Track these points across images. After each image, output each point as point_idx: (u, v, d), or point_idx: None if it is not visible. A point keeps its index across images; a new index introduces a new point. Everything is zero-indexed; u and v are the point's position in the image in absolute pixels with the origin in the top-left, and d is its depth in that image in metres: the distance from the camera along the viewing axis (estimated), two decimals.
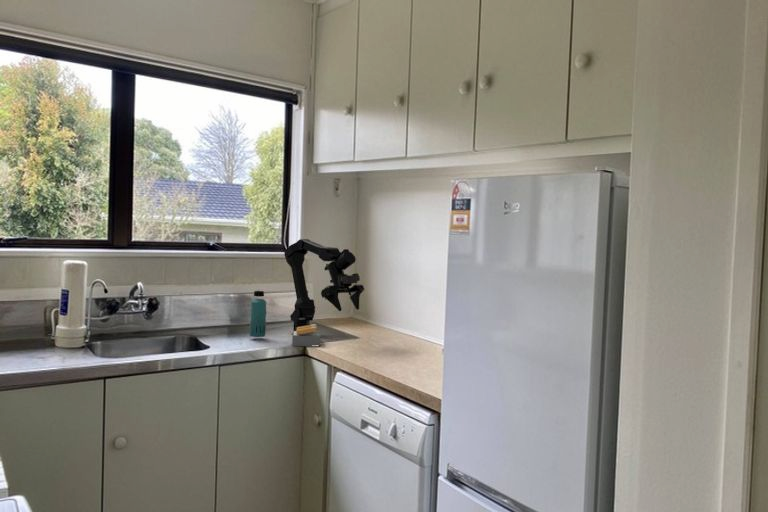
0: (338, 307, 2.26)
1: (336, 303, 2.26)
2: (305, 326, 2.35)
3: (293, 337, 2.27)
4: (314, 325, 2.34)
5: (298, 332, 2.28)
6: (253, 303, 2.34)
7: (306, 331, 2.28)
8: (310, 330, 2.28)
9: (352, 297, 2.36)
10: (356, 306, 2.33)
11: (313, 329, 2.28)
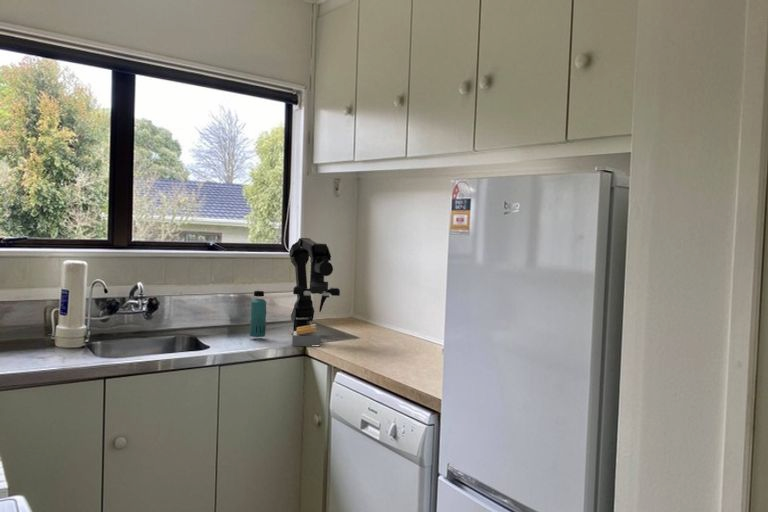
0: (310, 308, 2.35)
1: (309, 304, 2.35)
2: (305, 326, 2.35)
3: (293, 337, 2.27)
4: (314, 325, 2.34)
5: (298, 332, 2.28)
6: (253, 303, 2.34)
7: (306, 331, 2.28)
8: (310, 330, 2.28)
9: (321, 297, 2.37)
10: None
11: (313, 329, 2.28)
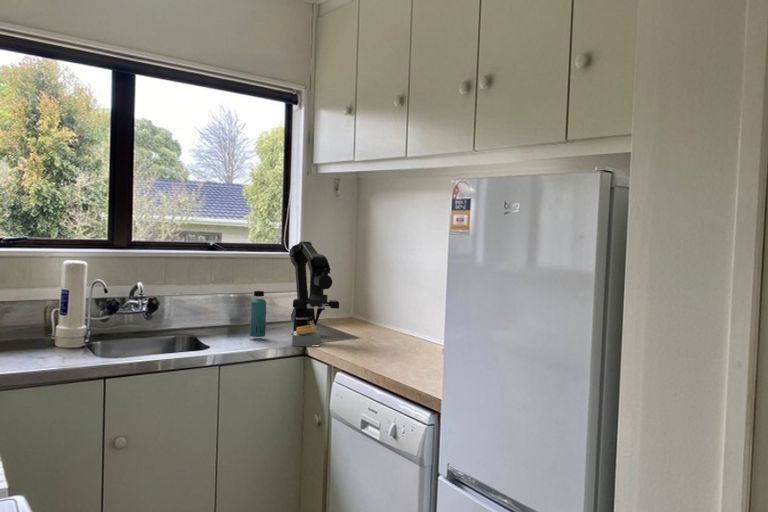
0: (313, 321, 2.36)
1: (312, 317, 2.35)
2: (305, 326, 2.35)
3: (293, 337, 2.27)
4: (314, 325, 2.34)
5: (298, 332, 2.28)
6: (253, 303, 2.34)
7: (306, 331, 2.28)
8: (310, 330, 2.28)
9: None
10: None
11: (313, 329, 2.28)
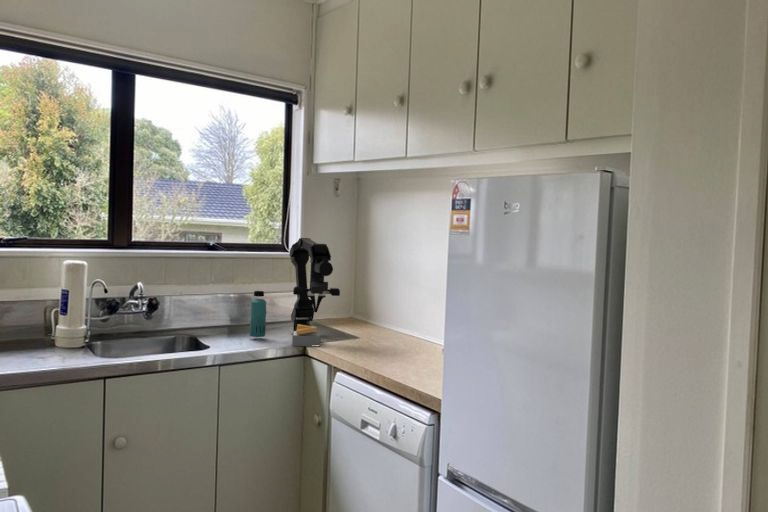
0: (313, 308, 2.35)
1: (312, 304, 2.35)
2: (306, 326, 2.35)
3: (293, 337, 2.27)
4: None
5: (298, 332, 2.28)
6: (253, 303, 2.34)
7: (306, 331, 2.28)
8: (310, 330, 2.28)
9: None
10: None
11: (313, 329, 2.28)
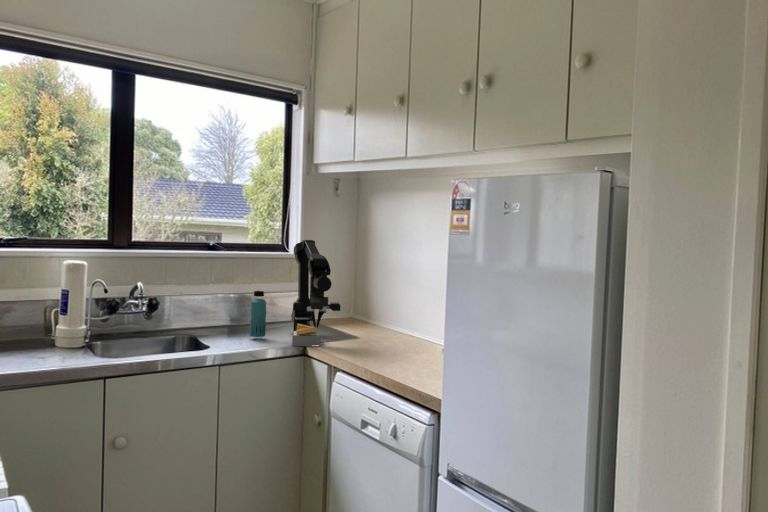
0: None
1: (312, 320, 2.30)
2: (306, 326, 2.35)
3: (293, 337, 2.27)
4: None
5: (298, 332, 2.28)
6: (253, 303, 2.34)
7: (306, 331, 2.28)
8: (310, 330, 2.28)
9: (318, 312, 2.31)
10: None
11: (313, 329, 2.28)
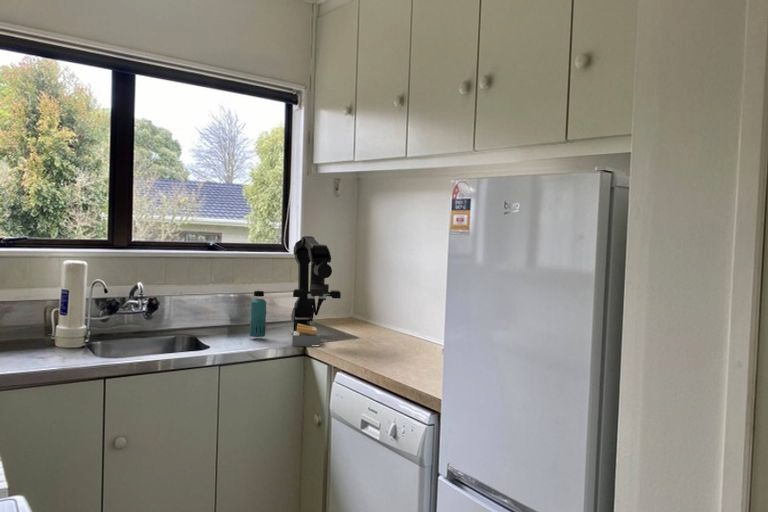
0: (314, 311, 2.30)
1: (313, 307, 2.29)
2: (306, 326, 2.35)
3: (293, 337, 2.27)
4: (315, 328, 2.34)
5: (298, 329, 2.28)
6: (253, 303, 2.34)
7: (306, 331, 2.28)
8: (310, 331, 2.28)
9: None
10: None
11: (313, 332, 2.29)
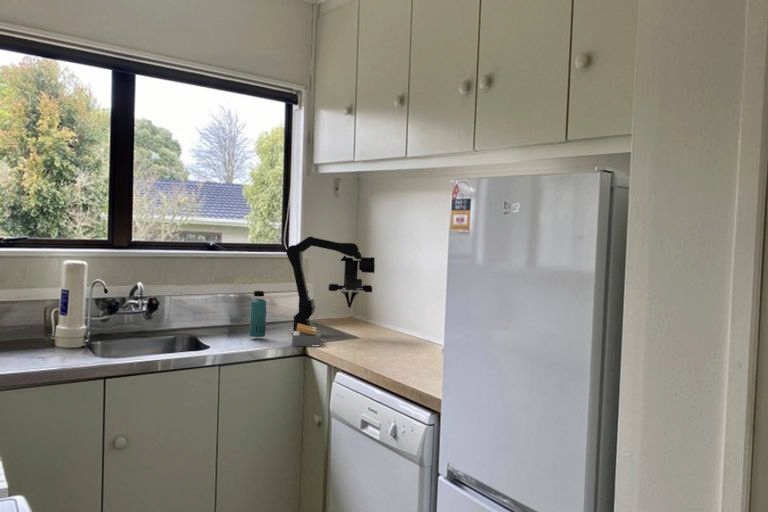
0: None
1: None
2: (306, 326, 2.35)
3: (293, 337, 2.27)
4: (315, 328, 2.34)
5: (298, 329, 2.28)
6: (253, 303, 2.34)
7: (306, 331, 2.28)
8: (310, 332, 2.28)
9: (351, 293, 2.52)
10: None
11: (313, 332, 2.29)
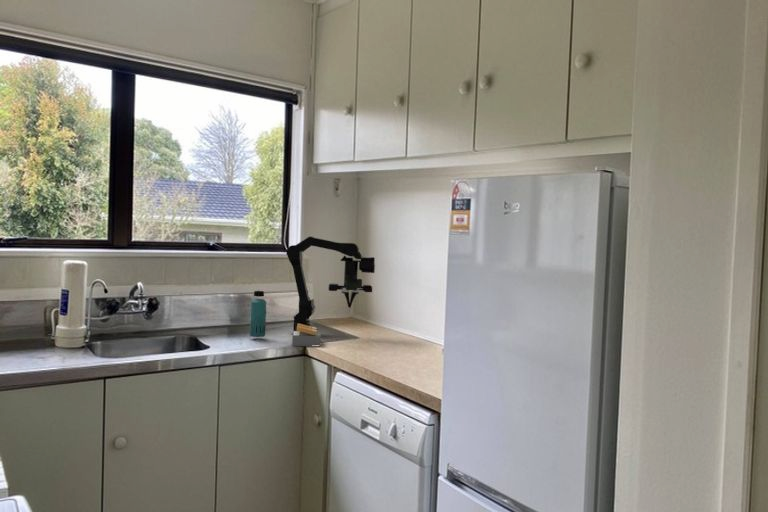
0: None
1: None
2: (306, 326, 2.35)
3: (293, 337, 2.27)
4: (315, 328, 2.34)
5: (298, 328, 2.28)
6: (253, 303, 2.34)
7: (306, 331, 2.28)
8: (310, 332, 2.28)
9: (351, 293, 2.52)
10: None
11: (313, 332, 2.29)
